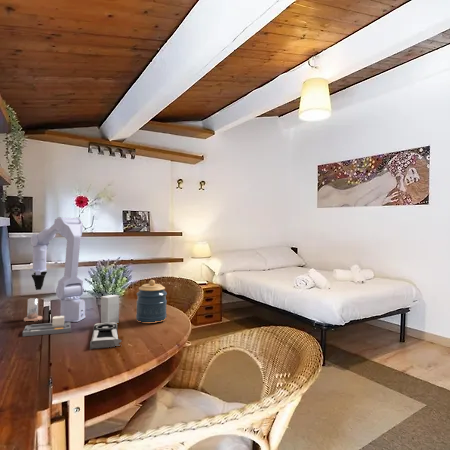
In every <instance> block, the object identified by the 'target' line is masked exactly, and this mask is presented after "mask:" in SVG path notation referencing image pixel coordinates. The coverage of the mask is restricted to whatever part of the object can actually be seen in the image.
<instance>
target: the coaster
mask: <svg viewBox="0 0 450 450" xmlns="http://www.w3.org/2000/svg"><path fill="white" fill-rule="evenodd" d="M38 320H39V321H42V320H43V316H42V315H38V318H35V319H27V316H26V317H24V318H23V322H26V321H34V322H38Z"/></svg>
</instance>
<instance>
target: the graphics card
mask: <svg viewBox="0 0 450 450" xmlns="http://www.w3.org/2000/svg"><path fill="white" fill-rule="evenodd" d="M108 333H110V335H108ZM118 333H119V332H118V324H116V323H115V322H112V323H101V322H97V323H95V324H94V325H93V330H92V336H91V340H90V342H89V350H93V349H95V350H96V349H98V350H99V349H107V348H108V349H109V347H110V348H116V347H115V346H120V345H121V344H120V343H122V339H120V338H119V336H118V335H119V334H118Z"/></svg>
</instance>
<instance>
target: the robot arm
mask: <svg viewBox="0 0 450 450" xmlns="http://www.w3.org/2000/svg"><path fill="white" fill-rule="evenodd" d="M83 226H84V224H83V221H82V219H81V217H63V216H62V217H61V216H58V217H56V218H55V219H54V223H53V224H52V225H51V226H49V227H48V226H46V227H44V229H42V230H41V231H39V233H37V234H36V233H33V234H32V235H31V237H30V244H31V246H32V268H30V269H29V271H31V272H33V273H32V274H31V278H32V280H33V283H34V289H35V290H36V291H40V290H42V288H43V285H44V281H45V277H46V274H47V272H48V271H47V270H48V269H47V254H48V253H47V251H48V249H49V244H50V241H52V240H54V238H55V237H56V234H58V233H59V235H60V236H61V237H62V238H65V239H66V248H65V259H64V273H63V274H64V275H63V276H62V277H61V278H60V279H59V280H58V282H57V286H56V288H55V294H56V297H57V298H58V300H59V301H60V315H59V316H64V322H65V323H67V322H71V323H72V322H73V323H77V322H80V321H81V320H83V319H85V318H86V317H87V316H86V301H85V299H81V296H82V295H83V294H84V285H83V284H84V280H83V279H82V278H81V277H80V276H78V271H79V260H80V259H79V258H80V249H81V247H80V246H81V238H82V236H83V229H84V228H83Z"/></svg>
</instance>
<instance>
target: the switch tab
mask: <svg viewBox="0 0 450 450" xmlns="http://www.w3.org/2000/svg"><path fill="white" fill-rule="evenodd" d="M64 322H65V321H64V316H60V315H55V316H53V317H52V322H51V323H52V326H64Z"/></svg>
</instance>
